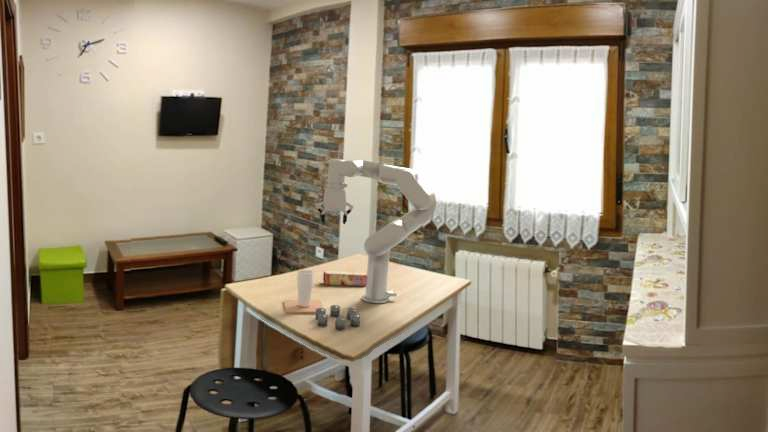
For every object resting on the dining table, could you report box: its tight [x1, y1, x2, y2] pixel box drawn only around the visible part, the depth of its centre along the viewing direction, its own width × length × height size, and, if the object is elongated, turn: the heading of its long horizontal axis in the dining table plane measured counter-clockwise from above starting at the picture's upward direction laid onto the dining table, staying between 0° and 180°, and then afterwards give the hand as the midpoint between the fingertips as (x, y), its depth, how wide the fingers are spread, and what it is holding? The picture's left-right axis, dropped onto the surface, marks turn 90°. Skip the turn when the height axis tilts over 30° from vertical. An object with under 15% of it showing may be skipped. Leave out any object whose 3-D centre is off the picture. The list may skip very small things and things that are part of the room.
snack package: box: [322, 270, 367, 287], centre depth 298 cm, size 21×7×7 cm, turn 101°
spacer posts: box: [314, 304, 361, 331], centre depth 243 cm, size 17×19×4 cm
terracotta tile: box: [283, 299, 324, 315], centre depth 258 cm, size 16×16×1 cm
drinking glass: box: [296, 269, 314, 307], centre depth 257 cm, size 7×7×15 cm
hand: (333, 223), depth 277 cm, fingers open, 9 cm apart
